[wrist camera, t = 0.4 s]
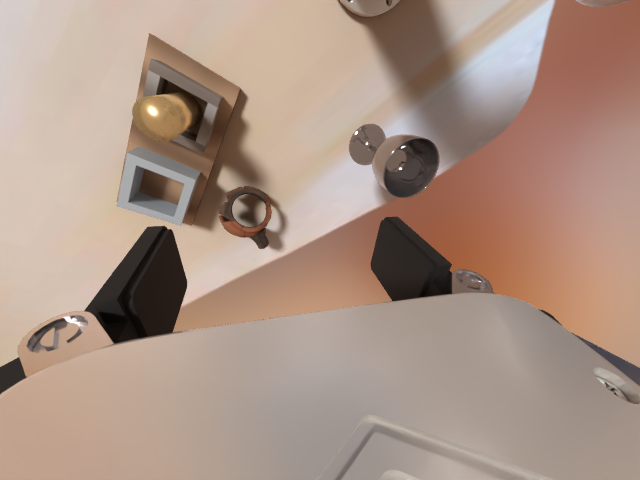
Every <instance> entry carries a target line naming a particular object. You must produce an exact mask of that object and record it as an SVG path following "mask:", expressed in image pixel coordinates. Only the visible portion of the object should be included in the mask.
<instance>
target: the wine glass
mask: <svg viewBox="0 0 640 480" xmlns="http://www.w3.org/2000/svg"><path fill="white" fill-rule="evenodd" d="M349 151H350V155H351V157H352V159H353V160H354V161H355V162H356V163H358V164H361V165H368V164H371V163H372V169H373V172H374V175H375V177H376V179H377V180H378V182H379V183H380V184H381V186H383V187H384V188H385V189H386V190H387V191H388V192H389V193H390V194H392V195H394V196H396V197H399V198H407V197H412V196H414V195H417V194H418V193H420V192H421V191H423V190H424V189H425V188H426V187H427V186H428V185H429V184H430V183H431V181H432V180H433V178H434V177H435V175H436V173H437V170H438V167H439V152H438V149H437V147H436V146H435V144H434V143H432V142H431V141H430V140H428V139H425V138H423V137H419V136H415V135H408V134H401V135H395V136H391V137H389V138H387V139H386V138H385V134H384V132H383V130H382V129H381V128H380V127H379V126H377V125H375V124H366V125H363V126H361V127H360V128H358V129H357V130H356V131H355V133H354V134H353V136H352V138H351V140H350V144H349Z"/></svg>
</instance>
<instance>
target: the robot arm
mask: <svg viewBox="0 0 640 480" xmlns="http://www.w3.org/2000/svg"><path fill="white" fill-rule="evenodd" d="M386 1H387V2H388V4H386ZM399 1H400V0H350V2H348V0H340V2H341V3H342V4H343V5H344V6H345V7H346V8H347V9H348V10H350V11H351V12H353V13H354V14H357V15H359V16H362V17H373V16H378V15H380V14H383V13H385V12H386V11H388V10H390V9H391V8H393V7H394V6H395V5H396V4H397V3H398V2H399ZM576 1H578V2H579V3H581V4H583V5H587V6H593V7H599V6H609V5H614V4H618V3H622V2H626V1H629V0H576ZM451 265H452V264H451V263H450V262H449V261H447V260H446V259H445V258H444V257H443V256H442V255H441V254H439V253H438V252H437V251H436V250H435V249H434V248H432V247H431V246H430V245H429V244H428V243H427V242H426V241H425V240H423V239H422V238H421V237H420V236H419V235H418V234H417V233H416V232H414V231H413V230H412V229H411V228H410V227H408V225H406V224H405V223H404V222H403V221H401V219H399V218H398V217H386V218H385V219H384V220H382V221H381V223H380V227H379V231H378V236H377V239H376V244H375V248H374V252H373V256H372V260H371V269H372V271H373V272H374V274H375V275H376V277H377V278H378V280H379V281H380V283H381V284H382V286H383V287H384V289H385V290H386V292H387V293H388V295H389V296H390V298H391V299H392V301H391V302H384V303H377V304H369V305H363V306H355V307H348V308H340V309H333V310H326V311H319V312H311V313H304V314H297V315H290V316H283V317H276V318H269V319H262V320H255V321H248V322H241V323H235V324H227V325H221V326H213V327H206V328H199V329H192V330H186V331H179V332H173V329H174V326H175V323H176V320H177V317H178V314H179V311H180V307H181V304H182V301H183V298H184V295H185V292H186V289H187V279H186V276H185V272H184V269H183V265H182V262H181V258H180V255H179V251H178V248H177V244H176V241H175V237H174V234H173V231H172V230H171V229H167V228H166V227H165V226H154V227H147V228H146V230H145V231H144V232H143V234H142V235H141V236H140V238H139V239H138V240H137V242H136V243H135V244H134V246H133V247H132V248H131V250H130V251H129V252H128V254H127V255H126V256H125V258H124V259H123V260H122V262H121V263H120V264H119V265H118V267H117V268H116V269H115V271H114V272H113V273H112V275H111V276H110V277H109V279H108V280H107V281H106V283H105V284H104V285H103V287H102V288H101V289H100V291H99V292H98V293H97V295H96V296H95V297H94V299H93V300H92V301H91V303H90V304H89V305H88V307H87V308H86V309H85V311H74V312H69V313H65V314H62V315H59V316H56V317H53V318H51V319H49V320H47V321H45V322H43V323H41V324H40V325H38V326H37V327H35V328H34V329H33V330H31V331H30V332H29V333H28V334H27V335H26V336H25V337H24V338H23V339H22V340H21V342H20V344H19V345H18V355H19V357H18V358H17V359H15V360H13V361H11V362H9V363H7V364H5V365H3V366H2V367H0V480H640V368H639V367H637V366H635V365H633V364H631V363H629V362H627V361H625V360H623V359H622V358H620V357H618V356H616V355H614V354H612V353H610V352H608V351H606V350H604V349H602V348H600V347H598V346H597V345H594V344H593V343H591V342H589V341H587V340H585V339H583V338H581V337H579V336H577V335H575V334H573V333H571V332H570V331H568V330H567V329H566V328H564V327H563V326H562V325H561V324H560V323H559V322H558V321H557V320H556V319H555V318H554V317H553V316H552V315H551V314H549V313H547V312H545V311H543V310H540V309H537V308H535V307H534V306H532V305H530V304H528V303H527V302H524V301H522V300H518V299H515V298H512V297H508V296H504V295H497V294H495V293H493V288H492V285H491V283H490V282H489V281H488V280H487V279H486V278H484V277H483V276H481V275H480V274H478V273H476V272H473V271H470V270H466V269H457V270H455V271H453V273H451V272H450V271H449V270H450V267H451ZM172 332H173V333H172Z"/></svg>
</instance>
